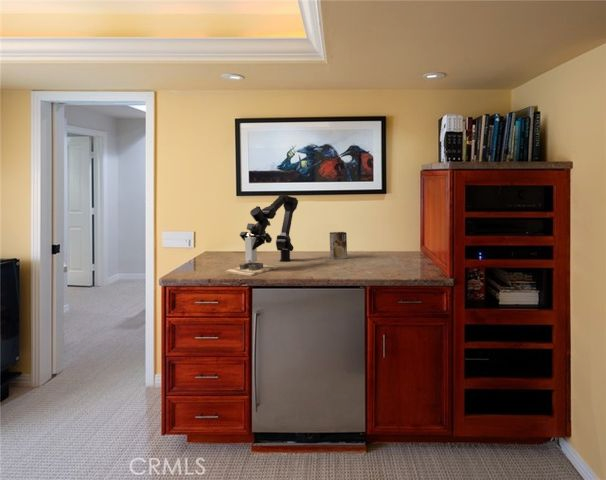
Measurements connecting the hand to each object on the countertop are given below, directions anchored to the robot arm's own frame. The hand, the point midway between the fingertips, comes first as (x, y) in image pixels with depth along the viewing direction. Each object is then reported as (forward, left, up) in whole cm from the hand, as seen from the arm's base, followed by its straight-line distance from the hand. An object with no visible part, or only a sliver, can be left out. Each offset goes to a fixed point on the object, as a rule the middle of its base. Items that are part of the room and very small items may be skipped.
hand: (249, 249), depth 258 cm
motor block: (-1, +1, -7) cm, 7 cm away
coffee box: (-39, +48, -12) cm, 63 cm away
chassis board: (-1, +1, -12) cm, 12 cm away
